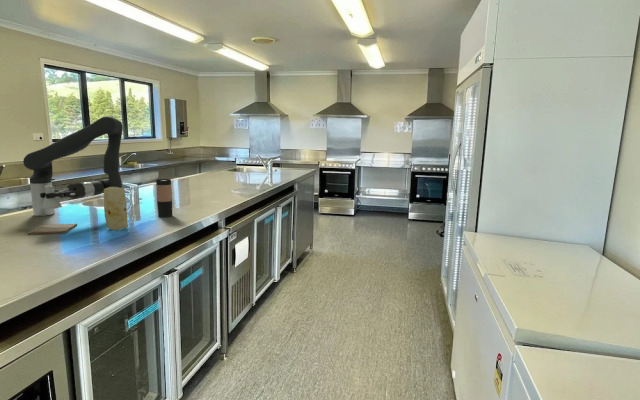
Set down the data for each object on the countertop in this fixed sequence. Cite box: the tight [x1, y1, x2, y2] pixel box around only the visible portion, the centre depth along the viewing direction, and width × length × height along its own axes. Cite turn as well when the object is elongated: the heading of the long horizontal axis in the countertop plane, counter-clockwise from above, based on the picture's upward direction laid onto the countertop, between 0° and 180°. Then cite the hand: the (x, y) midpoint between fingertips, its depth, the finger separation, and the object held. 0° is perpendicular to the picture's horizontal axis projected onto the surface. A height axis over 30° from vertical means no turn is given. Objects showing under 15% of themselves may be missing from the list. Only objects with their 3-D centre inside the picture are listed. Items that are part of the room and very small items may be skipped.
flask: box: [42, 185, 63, 209], centre depth 166 cm, size 7×7×10 cm
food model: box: [103, 187, 129, 232], centre depth 171 cm, size 10×7×20 cm
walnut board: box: [27, 223, 78, 236], centre depth 169 cm, size 14×14×1 cm
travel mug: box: [155, 178, 173, 218], centre depth 200 cm, size 8×8×20 cm
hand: (43, 195), depth 163 cm, fingers closed on flask, 3 cm apart
